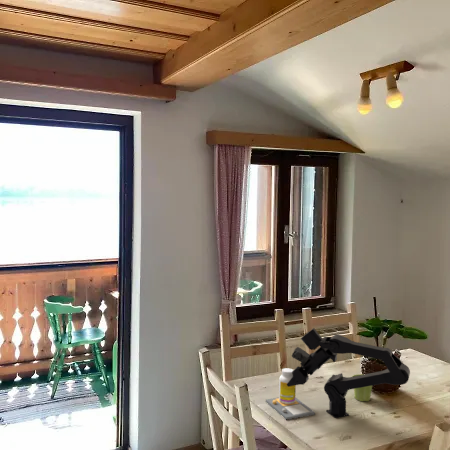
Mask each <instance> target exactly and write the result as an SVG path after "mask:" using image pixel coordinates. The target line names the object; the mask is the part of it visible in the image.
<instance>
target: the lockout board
mask: <svg viewBox="0 0 450 450" xmlns="http://www.w3.org/2000/svg"><path fill="white" fill-rule="evenodd" d="M266 402H267V403H268V404H267V403H266ZM265 403H266V404H267V405H269V407H270V408H272V409H273V410H274V409H275V410H276V411H277V413H278V415H280V416H281V415H282V416H283V417H284V418H285V419H284V418H283V417H282V416H281V417H282V418H283V419H284V420H286V419H289V420H293V419H292V418H294V419H299V418H298V417H300V418H303V416H305V417H309V415H310V416H315V415H316V412H315V411H314V410H313V409H311V408H310V407H309V406H307V404H305V403H303V402H302V401H301V400H300V399H298V397H296V396H295V402H294V403H292V404H284V403H281V402H280V401H279V396H278V397H273V398H268V399H265ZM275 410H274V411H275ZM276 411H275V412H276Z"/></svg>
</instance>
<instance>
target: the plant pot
mask: <svg viewBox="0 0 450 450" xmlns="http://www.w3.org/2000/svg"><path fill="white" fill-rule="evenodd" d="M359 375H364V374H363V373H362V374H358V373H357V374H353V375H351V377H354V376H359ZM372 390H373V385H372V386H367V387H361V388H355V389H353V393H354V394H353V395H354V399H355V400H357V401H360V402H369V401H370V400H371V394H372Z"/></svg>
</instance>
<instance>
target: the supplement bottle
mask: <svg viewBox="0 0 450 450" xmlns="http://www.w3.org/2000/svg"><path fill="white" fill-rule="evenodd" d="M293 370H294V369H292V368H289V367H287V368H286V367H284V368H282V369H281V375H280V376H279V379H278V381H279V382H278V383H279V384H278V397H279V401H280V402H281V403H284V404H292V403H294V402H295V397H296V391H297V390H296V387H297V385H294V386H289V387H288V386H287V383H288V382H289V381H290V379H291V378H292V377H293V374H292V371H293Z"/></svg>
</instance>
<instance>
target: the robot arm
mask: <svg viewBox="0 0 450 450" xmlns="http://www.w3.org/2000/svg"><path fill="white" fill-rule="evenodd" d="M300 340H301V341H302V342H303V343H304V345H305V346H306V347H307V348H308V349H309V350H311V351H314V352H311V353H308V352H307V351H306V350H304V349H302V348H301V347H299V346H297V347H295V348H294V350H293V352H292V354H291V357H292V359H295V360H297V361H298V362H300V366H297V367H295V368H294V369H292V370H293V371H292V374H293V377H292V378H291V379H290V381H289V382H288V383H287V386H288V387H289V386H294V385H296V386H299V385H303V386H304V385H305V384H306V383H307V382H308V381H309V379H310V378H309V377H310V376H312V375H313V374H314V373H315V372H316V371H318V370H319V369H321V368H322V367H323V365H325V364H326V363H327V362H329V361H330V360H331V361H332V362H333V363H335V362H336V361H337V360H338V354H343V355H344V354H354V355H358V356H363V357H368V358H372V359H378V360H381V361H382V362H383V363H384V365H385V366H386V369H384V370H380V371H376V372H370V373H365V374H363V375H359V376H354V377H352V376H350V377H349V376H348V377H347V376H343V373H338V374H332V375H331V376H330V377H329V378H328V380H327V381H326V382H325V384H324V386H323V390H324V392H325V394H326V395H327V397H328V400H329V406H328V407H329V409H326V412H327V413H328V414H329V415H330V416H332V417H333V418H334V419H338V418H342V417H349V416H350V413H348V412H347V399H346V395H348V391H350V390H354V389H355V388H361V387H367V386H372V387H373V386H378V385H383V384H388V385H393V386H394V385H396V386H399V385H405V384H407V383H408V382H409V378H410V375H411V369H410V367H409V366H408V365H406V364H404V363H403V362H402V361H401V359H400V358H399V357H398V356H397V355H395V354H394V352H393V351H392V349H390V348H389V347H381V346H378V345H377V346H376V345H372V344H367V343H362V342H357V341H353V340H351V339H350V338H348V337H346V336H343V335H341V334H333V336H323V337H322V336H321V335H320V334H319V332H318V331H317V330H316V329H315V328H314V327H313V328H312V329H310V330H309V331H308V332H306V333H305V334H304V335H303V336H302V337H301V338H300Z"/></svg>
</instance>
